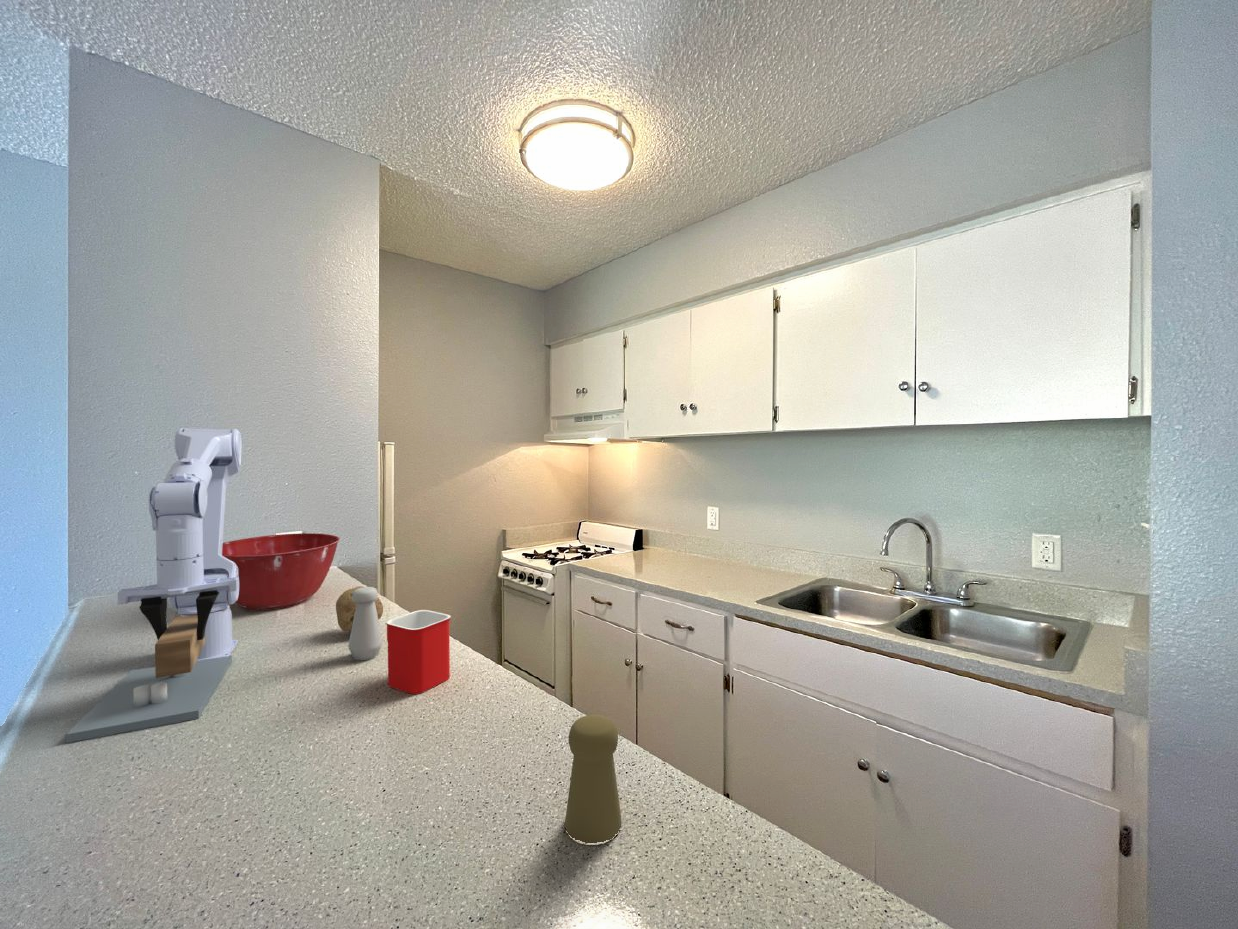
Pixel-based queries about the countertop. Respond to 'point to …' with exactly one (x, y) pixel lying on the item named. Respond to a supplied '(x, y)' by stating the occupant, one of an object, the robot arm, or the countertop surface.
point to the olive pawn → (593, 781)
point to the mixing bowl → (280, 568)
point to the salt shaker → (365, 625)
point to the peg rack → (152, 700)
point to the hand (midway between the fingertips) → (182, 641)
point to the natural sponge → (351, 609)
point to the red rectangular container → (418, 651)
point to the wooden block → (178, 647)
